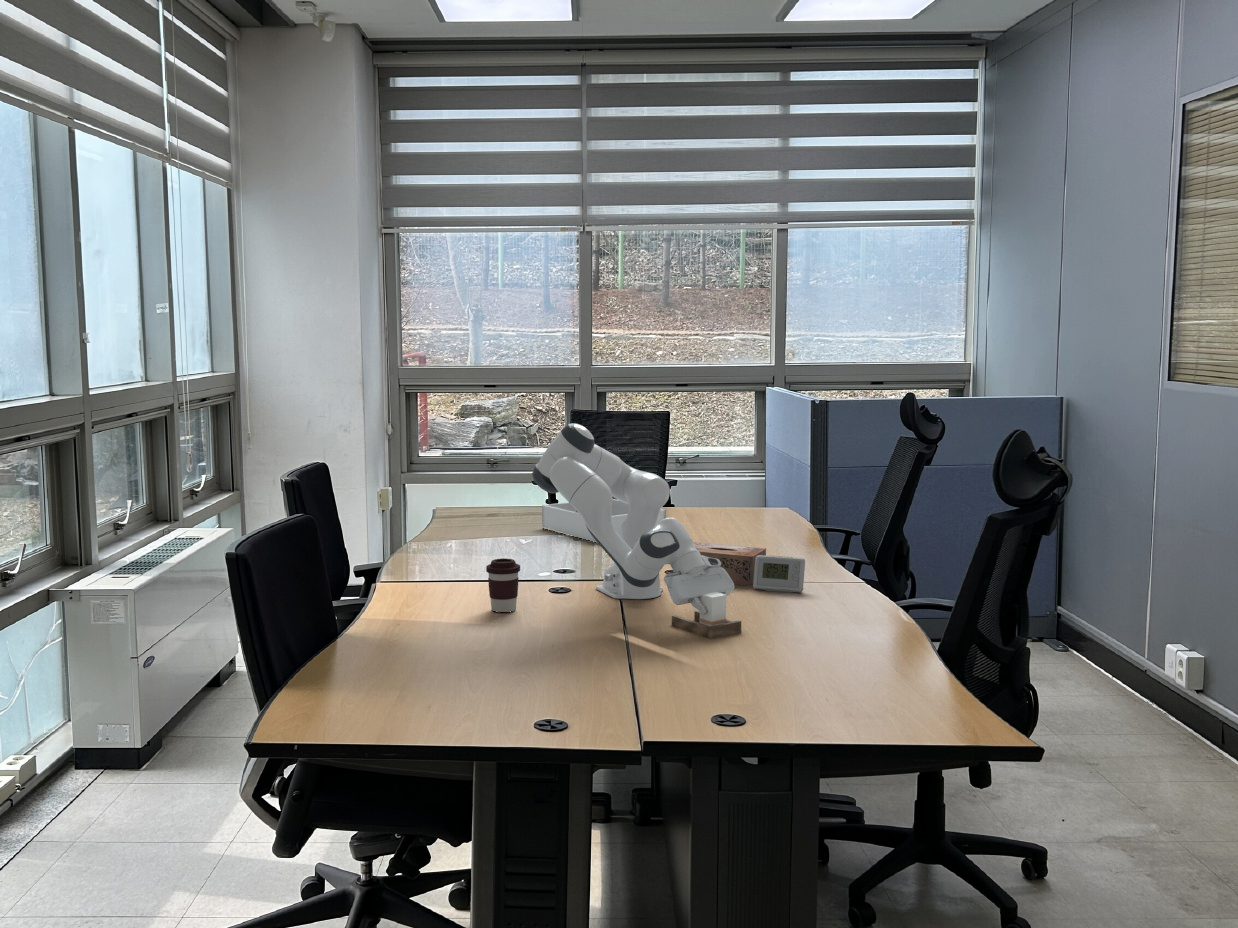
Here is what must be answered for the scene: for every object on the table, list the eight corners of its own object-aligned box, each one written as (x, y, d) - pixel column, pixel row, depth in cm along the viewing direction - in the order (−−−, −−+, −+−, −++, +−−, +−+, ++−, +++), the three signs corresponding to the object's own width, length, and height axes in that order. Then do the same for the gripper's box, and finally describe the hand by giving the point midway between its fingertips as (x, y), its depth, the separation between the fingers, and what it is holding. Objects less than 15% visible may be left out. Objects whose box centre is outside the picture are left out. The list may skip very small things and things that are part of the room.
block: (697, 629, 294) (697, 593, 292) (711, 626, 297) (712, 590, 295) (711, 634, 289) (712, 597, 288) (726, 631, 292) (726, 594, 291)
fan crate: (542, 528, 454) (542, 505, 453) (608, 520, 474) (608, 497, 473) (597, 543, 422) (597, 518, 421) (665, 533, 442) (665, 509, 441)
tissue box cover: (765, 577, 364) (766, 548, 363) (752, 586, 351) (752, 556, 350) (693, 570, 375) (694, 542, 374) (678, 579, 362) (678, 549, 361)
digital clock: (750, 589, 346) (750, 557, 345) (761, 584, 354) (761, 552, 353) (798, 595, 338) (798, 562, 337) (808, 590, 346) (809, 557, 344)
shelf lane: (669, 630, 298) (669, 614, 298) (699, 623, 305) (699, 608, 304) (710, 644, 285) (710, 627, 284) (741, 637, 291) (741, 621, 291)
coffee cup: (515, 615, 314) (514, 564, 312) (482, 613, 316) (481, 563, 314) (524, 607, 324) (524, 557, 322) (493, 605, 326) (492, 556, 324)
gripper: (666, 567, 290) (690, 611, 283) (723, 558, 302) (747, 599, 295) (656, 581, 294) (679, 624, 287) (712, 571, 306) (736, 612, 299)
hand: (714, 611), depth 291 cm, fingers closed on block, 5 cm apart
